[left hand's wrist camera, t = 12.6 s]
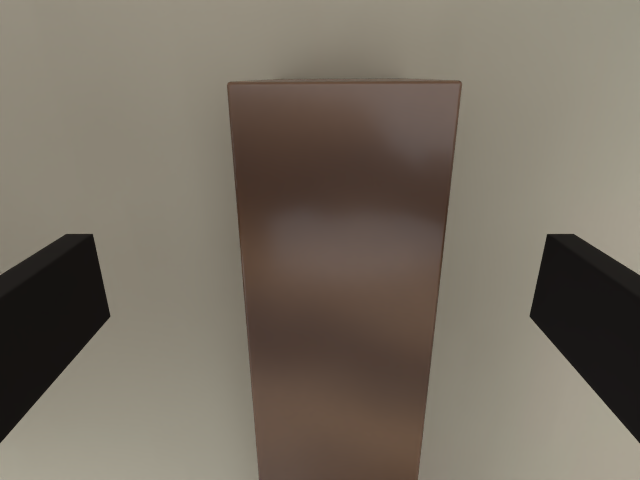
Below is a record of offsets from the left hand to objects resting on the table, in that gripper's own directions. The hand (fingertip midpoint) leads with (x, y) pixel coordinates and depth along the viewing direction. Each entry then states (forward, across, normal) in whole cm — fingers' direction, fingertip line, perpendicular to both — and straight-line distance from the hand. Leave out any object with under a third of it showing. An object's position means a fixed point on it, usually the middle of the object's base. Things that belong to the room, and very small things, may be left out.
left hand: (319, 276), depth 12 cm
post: (+8, +1, -22) cm, 23 cm away
